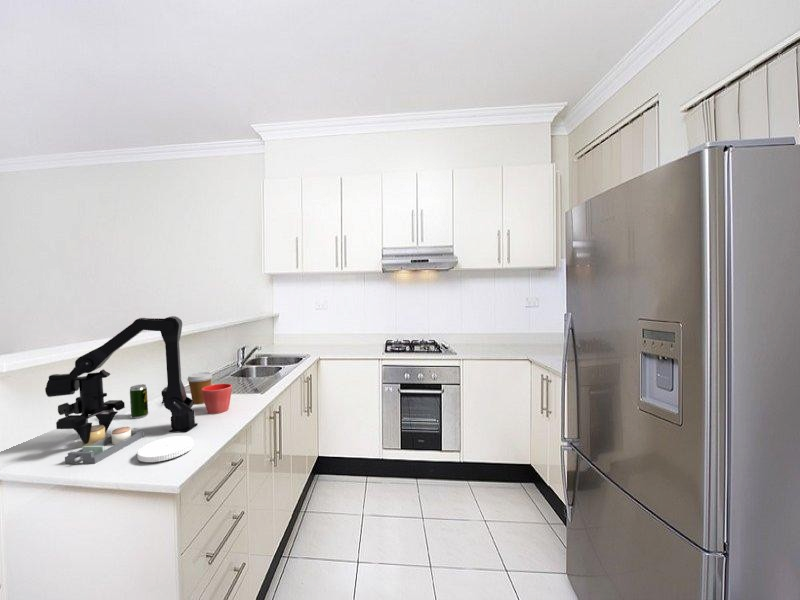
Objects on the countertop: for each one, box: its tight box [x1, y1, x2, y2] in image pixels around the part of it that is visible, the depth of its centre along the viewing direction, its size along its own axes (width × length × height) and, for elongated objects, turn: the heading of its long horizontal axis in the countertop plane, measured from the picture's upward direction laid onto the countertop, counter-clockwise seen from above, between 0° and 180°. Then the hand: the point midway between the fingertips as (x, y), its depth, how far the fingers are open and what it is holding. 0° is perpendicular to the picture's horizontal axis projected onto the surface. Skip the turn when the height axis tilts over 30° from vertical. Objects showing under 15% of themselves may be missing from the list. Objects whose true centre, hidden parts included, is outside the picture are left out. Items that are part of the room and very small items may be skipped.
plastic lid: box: [136, 435, 194, 463], centre depth 107 cm, size 14×14×2 cm
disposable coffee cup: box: [186, 371, 213, 405], centre depth 154 cm, size 10×10×12 cm
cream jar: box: [110, 426, 132, 446], centre depth 115 cm, size 5×5×4 cm
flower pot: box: [202, 383, 233, 415], centre depth 143 cm, size 11×11×10 cm
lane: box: [64, 430, 145, 465], centre depth 110 cm, size 9×18×3 cm, turn 177°
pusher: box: [74, 445, 106, 462], centre depth 103 cm, size 6×6×3 cm
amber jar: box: [82, 424, 107, 447], centre depth 115 cm, size 6×6×5 cm
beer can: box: [129, 384, 149, 420], centre depth 138 cm, size 5×5×12 cm
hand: (94, 439), depth 115 cm, fingers open, 6 cm apart
